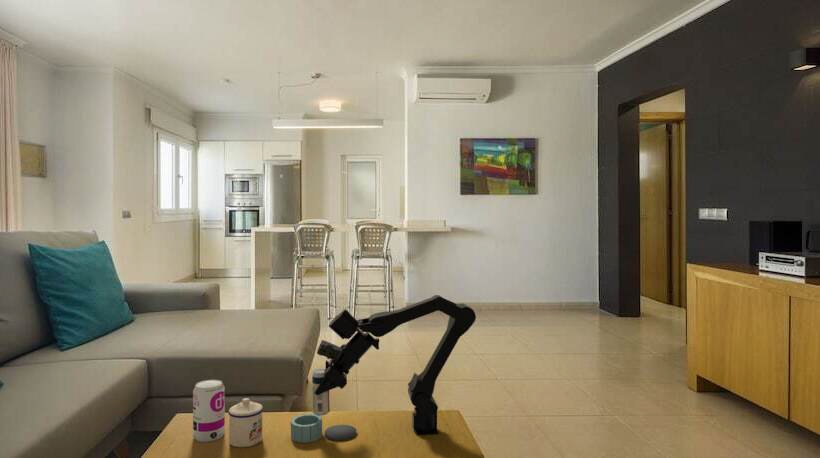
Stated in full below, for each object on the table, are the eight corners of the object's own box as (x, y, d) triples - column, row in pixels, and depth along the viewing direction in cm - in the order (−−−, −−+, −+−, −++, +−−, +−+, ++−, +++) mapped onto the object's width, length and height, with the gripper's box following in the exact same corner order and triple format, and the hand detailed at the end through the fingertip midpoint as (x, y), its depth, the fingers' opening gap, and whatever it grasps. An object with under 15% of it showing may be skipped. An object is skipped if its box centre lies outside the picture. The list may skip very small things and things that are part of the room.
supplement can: (231, 433, 145) (230, 381, 144) (208, 445, 137) (208, 390, 137) (209, 428, 148) (209, 377, 148) (186, 439, 141) (186, 386, 140)
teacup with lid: (254, 449, 135) (254, 406, 135) (222, 447, 136) (222, 404, 136) (272, 430, 147) (272, 390, 147) (242, 428, 148) (242, 389, 148)
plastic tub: (322, 428, 148) (322, 413, 148) (322, 441, 140) (322, 425, 140) (292, 430, 147) (292, 415, 147) (290, 444, 138) (290, 427, 138)
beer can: (333, 412, 144) (332, 370, 144) (319, 417, 141) (318, 374, 140) (322, 408, 147) (322, 367, 147) (309, 413, 144) (308, 371, 144)
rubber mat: (355, 426, 150) (355, 423, 150) (357, 439, 141) (357, 436, 141) (324, 428, 149) (324, 425, 149) (324, 442, 140) (324, 439, 140)
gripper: (334, 324, 153) (297, 362, 152) (333, 339, 135) (291, 383, 133) (361, 348, 154) (325, 387, 153) (363, 366, 136) (322, 410, 135)
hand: (316, 390), depth 144 cm, fingers closed on beer can, 5 cm apart
